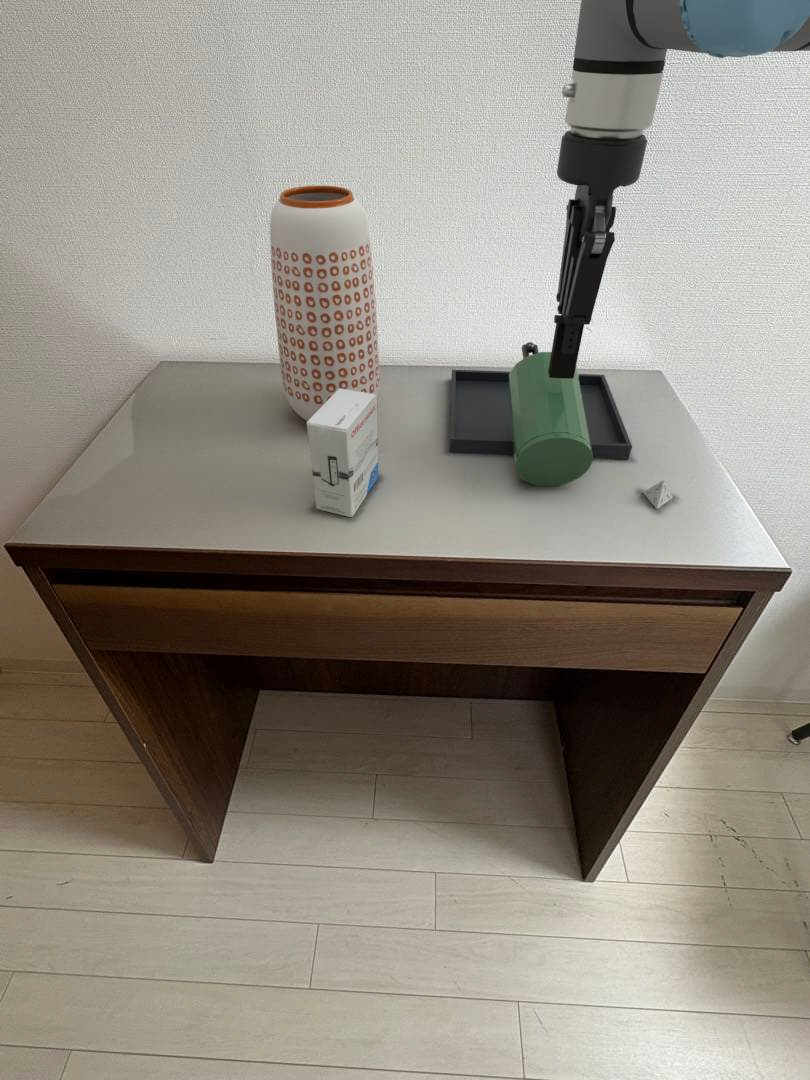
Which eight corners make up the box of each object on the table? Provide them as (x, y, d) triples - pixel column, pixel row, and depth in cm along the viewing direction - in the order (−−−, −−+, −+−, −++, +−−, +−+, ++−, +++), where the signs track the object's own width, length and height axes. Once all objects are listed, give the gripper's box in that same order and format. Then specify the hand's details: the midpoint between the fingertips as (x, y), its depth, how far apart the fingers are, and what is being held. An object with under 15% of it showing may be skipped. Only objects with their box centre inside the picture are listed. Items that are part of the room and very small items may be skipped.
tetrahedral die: (639, 510, 73) (645, 496, 71) (642, 491, 75) (648, 477, 72) (670, 516, 73) (677, 502, 70) (672, 497, 74) (679, 482, 71)
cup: (598, 476, 74) (583, 393, 81) (586, 429, 67) (570, 343, 74) (525, 493, 77) (517, 410, 84) (506, 449, 70) (499, 364, 77)
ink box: (344, 470, 78) (338, 384, 70) (380, 478, 77) (378, 392, 69) (313, 509, 72) (303, 420, 64) (352, 519, 70) (347, 429, 63)
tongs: (539, 486, 86) (536, 345, 89) (558, 465, 75) (554, 305, 78) (523, 486, 86) (520, 345, 89) (539, 465, 75) (536, 305, 78)
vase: (393, 428, 86) (391, 201, 67) (299, 445, 82) (269, 212, 64) (364, 385, 95) (355, 177, 76) (278, 400, 91) (247, 185, 73)
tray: (601, 386, 95) (604, 374, 94) (628, 459, 80) (632, 446, 79) (451, 381, 96) (451, 369, 95) (449, 452, 81) (450, 438, 80)
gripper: (554, 119, 60) (523, 350, 76) (573, 142, 51) (532, 401, 66) (632, 121, 60) (584, 352, 76) (666, 143, 50) (603, 404, 66)
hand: (560, 375), depth 71 cm, fingers closed
